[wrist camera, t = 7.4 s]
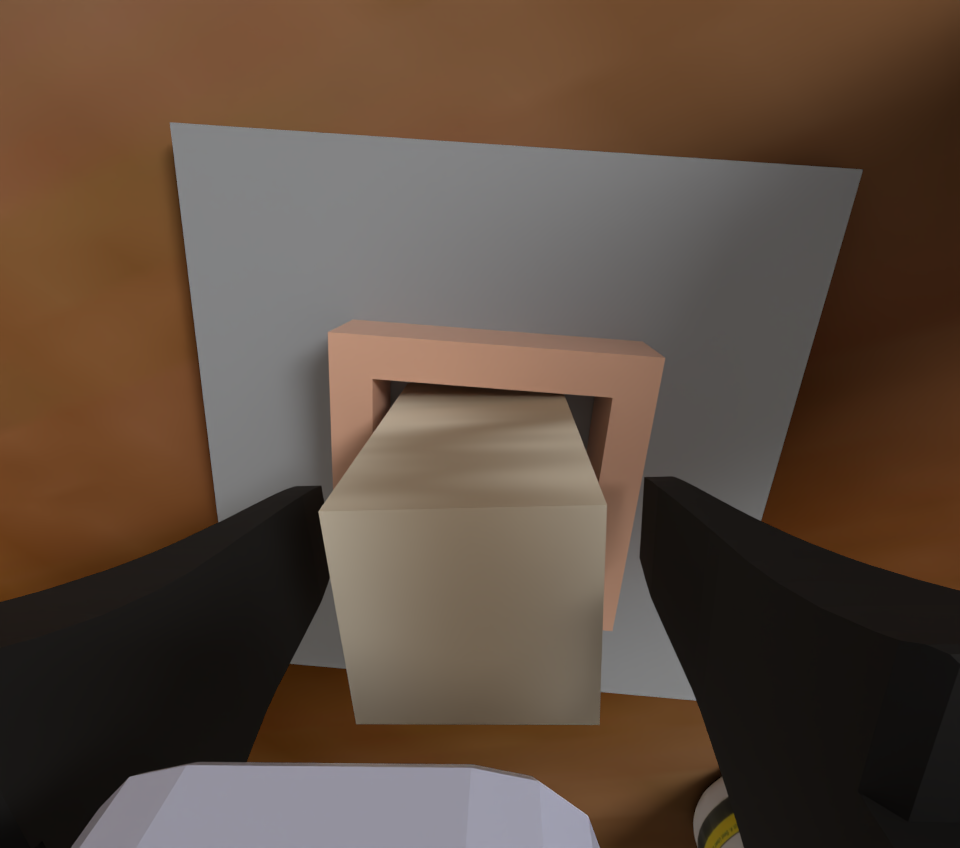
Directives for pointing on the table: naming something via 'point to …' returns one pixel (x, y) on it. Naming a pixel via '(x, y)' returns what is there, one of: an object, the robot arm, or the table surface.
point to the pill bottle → (716, 819)
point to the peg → (470, 562)
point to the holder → (505, 318)
